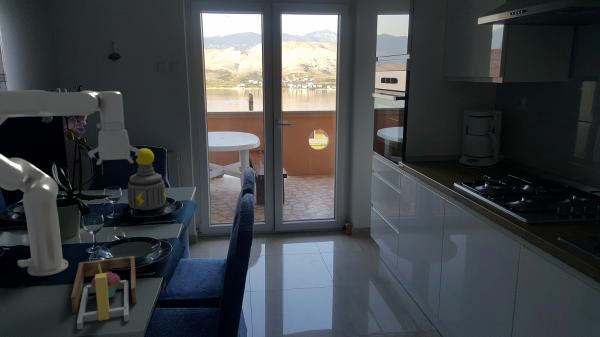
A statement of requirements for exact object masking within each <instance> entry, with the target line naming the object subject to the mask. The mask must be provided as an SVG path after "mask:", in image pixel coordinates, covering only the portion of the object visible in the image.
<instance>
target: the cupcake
mask: <svg viewBox="0 0 600 337" xmlns="http://www.w3.org/2000/svg"><path fill="white" fill-rule="evenodd" d="M98 268H99V272H100V274H102V270H101V266H100V264H99V262H98ZM106 275H107V287H108V299H110V298H112V297H114V296H115V295H116V292H117V291H116V290H117V289H116V288H117V286H118V285H119V284H120V283H121V277H120V276H119V275H118V274H117V273H112V272H106ZM93 277H94V278H92V279H91V282H90V285H91V287H92V289H94V290H96V285H95V276H93Z"/></svg>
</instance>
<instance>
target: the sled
mask: <svg viewBox="0 0 600 337" xmlns="http://www.w3.org/2000/svg"><path fill="white" fill-rule="evenodd" d="M94 277H95V285H96V290H94V289H92V287H91V284H87V285H85V286H84V287H83V288H82V293H81V294H82V295H81V298H80V300H81V301H80V303H79V308H78V310H79V311H78V315H77V321H76V325H77V326H76V328H77V330H83V327H84V323H85V322H86V323H87V322H92V321H105V320H110V319H111V318H118V317H123V321H124V322H129V320H130V311H129V310H130V306H129V305H130V304H129V303H130V300H129V299H130V296H129V295H130V294H129V293H130V291H129V290H130V289H129V288H130V286H129V280H127V279H123V280H121V279H120V281H121V283H120V284H119V285H118V286H117V288H116V290H121V289H122V290H123V306H119V307H114V308H110V301H109V299H110V298H108V287H107V275H106V273H102V274H96V275H95V276H94ZM94 293H95V294H96V305H97V306H96V307H97V310H94V311H88V312H87V311H86V310H87V305H88V304H87V303H88V297H89V294H94Z"/></svg>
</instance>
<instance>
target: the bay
mask: <svg viewBox="0 0 600 337" xmlns="http://www.w3.org/2000/svg"><path fill="white" fill-rule="evenodd" d="M98 262H99V264H100V266H101V270H102V273H106V272H112V271H109V270H107V269H112V268H124V267H131V271H130V290H131V291H130V292H131V293H130V294H131V303H132V304H133V305H134V304H137V282H136V281H137V279H136V262H135V255H130V256H123V257H114V258H107V259H99V260H98V259H95V260H91V261H90V260H89V261H82V262H81V261H80V262H78V268H77V271H76V275H75V279H74V283H73V288H72V291H71V295H70V299H71V300H70V301H71V309H72V313H73V314H74V313H78V310H79V307H80V302H81V301H80V300H81V297H82V295H81V294H82V292H83V285H84V281H85V278H87V277H95V275H96V274H100V272H99V268H98Z"/></svg>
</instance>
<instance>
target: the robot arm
mask: <svg viewBox="0 0 600 337" xmlns="http://www.w3.org/2000/svg"><path fill="white" fill-rule="evenodd" d="M97 111H98V112H99V116H100V117H99V118H100V123H96V128H97V129H100V130H99V132H98V140H97V141H98V146H97V147H96V148H94V149H92V150H90V151H88V152H87V154H88V157H90V159H91V161H93V162H94V163H95V164H96V165H97V171H98V174H99V175H100V177H102V176H104V164H103V161H109V160H110V161H112V160H127V161H128V171H129V172H128V173H129V175H132V173H133V172H134V171H135V169H134V162H136V159H137V158H138V156H139V154H140V152H141V151H140V149H139V148H137V147H135V146H132V145H130V140H129V134H128V131H127V129H125V119H124V118H125V117H124V103H123V95H122V92H120V91H117V90H102V91H95V90H81V91H77V92H76V91H73V92H71V91H70V92H65V91H64V92H58V91H57V92H54V91H46V90H41V89H31V90H30V89H29V90H28V89H27V90H26V89H24V90H5V89H0V125H2V123H4V122H5V121H6V120H7V119H8V118H21V117H53V116H54V117H61V116H62V117H64V116H71V117H72V116H89V115H91V114H93V113H95V112H97ZM97 152H98V158H97V157H96V156H95V154H96V153H97ZM131 152H134V153H135V155H133V157H132V156H131ZM0 188H2V189H4V190H6V191H17V190H20V191H21V192H23V196H22V204H23V209H24V213H25V218H26V227H27V233H28V241H29V249H30V250H29V251H30V258H28V259H19V260H17V266H18V267H20V268H27V267H28V268H27V274H28V275H30V276H35V277H45V276H46V277H47V276H52V275H56V274H58V273H60V272H63V271H65V270H66V269H67V268H68V267H69V261H68V260H66V259H65V258H63V249H62V241H61V240H62V238H61V230H60V221H59V214H58V213H59V212H58V206H57V196H58V193H59V186H58V182H56V181H55V180H54V178H52V176H50V175H48V174H46V173H45V172H43V171H42V170H41V169H39V168H37V166H35V165H33V164H32V163H31V162H29V161H27V160H25V159H23V158H20V157H10V158H9V157H6V156H5V155H4V154H2V153H0Z"/></svg>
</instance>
